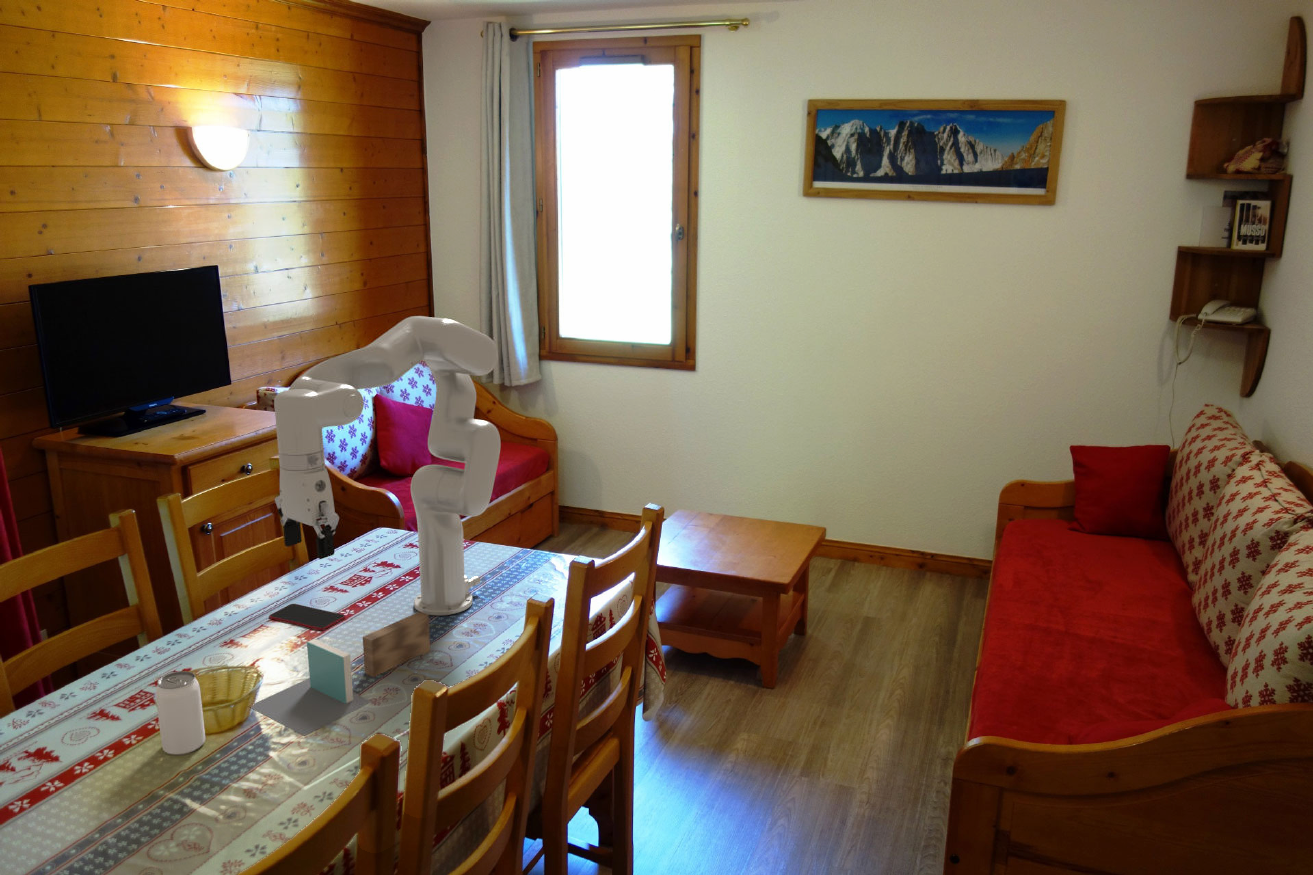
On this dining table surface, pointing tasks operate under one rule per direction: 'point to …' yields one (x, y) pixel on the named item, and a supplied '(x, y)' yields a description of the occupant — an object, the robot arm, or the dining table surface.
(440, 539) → the robot arm
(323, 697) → the mat
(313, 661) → the tile
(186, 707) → the can
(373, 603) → the dining table surface
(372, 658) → the wooden plank piece
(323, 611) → the smartphone
